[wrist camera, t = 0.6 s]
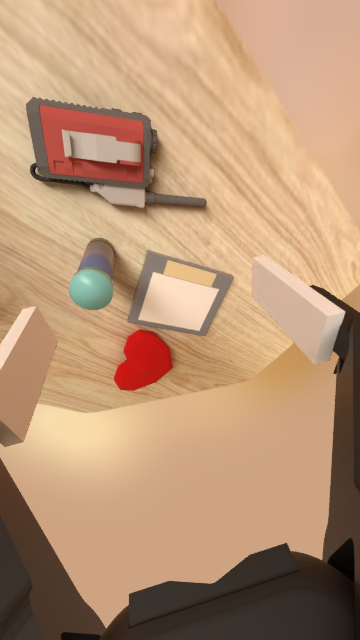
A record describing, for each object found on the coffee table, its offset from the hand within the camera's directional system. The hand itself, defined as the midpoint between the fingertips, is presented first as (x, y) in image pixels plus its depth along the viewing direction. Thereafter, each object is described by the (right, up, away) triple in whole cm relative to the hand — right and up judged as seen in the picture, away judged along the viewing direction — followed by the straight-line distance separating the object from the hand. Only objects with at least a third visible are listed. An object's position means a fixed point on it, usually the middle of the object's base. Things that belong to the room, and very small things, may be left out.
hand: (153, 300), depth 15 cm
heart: (-5, -8, +30) cm, 31 cm away
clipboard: (+2, +2, +24) cm, 24 cm away
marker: (-9, +8, +18) cm, 21 cm away
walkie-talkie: (-5, +17, +13) cm, 22 cm away
